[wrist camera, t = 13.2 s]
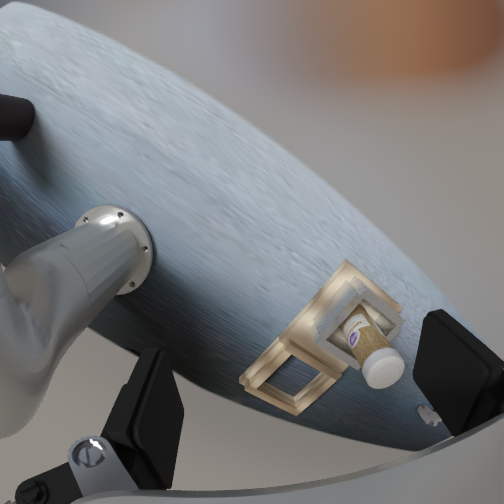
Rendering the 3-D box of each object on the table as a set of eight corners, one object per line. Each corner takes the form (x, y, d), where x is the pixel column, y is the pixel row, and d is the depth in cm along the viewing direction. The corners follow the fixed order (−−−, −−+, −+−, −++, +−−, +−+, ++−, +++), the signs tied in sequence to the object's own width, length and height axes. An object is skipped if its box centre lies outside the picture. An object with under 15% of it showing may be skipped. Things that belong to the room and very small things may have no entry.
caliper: (415, 408, 49) (426, 428, 43) (418, 404, 49) (430, 424, 43) (469, 408, 51) (481, 423, 45) (472, 404, 51) (484, 420, 45)
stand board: (296, 406, 47) (298, 418, 44) (239, 376, 45) (239, 389, 42) (398, 304, 42) (406, 312, 39) (345, 259, 40) (352, 266, 37)
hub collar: (351, 354, 42) (360, 372, 38) (306, 324, 41) (312, 342, 36) (394, 308, 40) (407, 322, 36) (351, 272, 39) (363, 285, 34)
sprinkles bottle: (338, 301, 40) (373, 358, 27) (368, 302, 40) (411, 355, 27) (333, 330, 41) (362, 392, 28) (362, 330, 41) (398, 388, 28)
